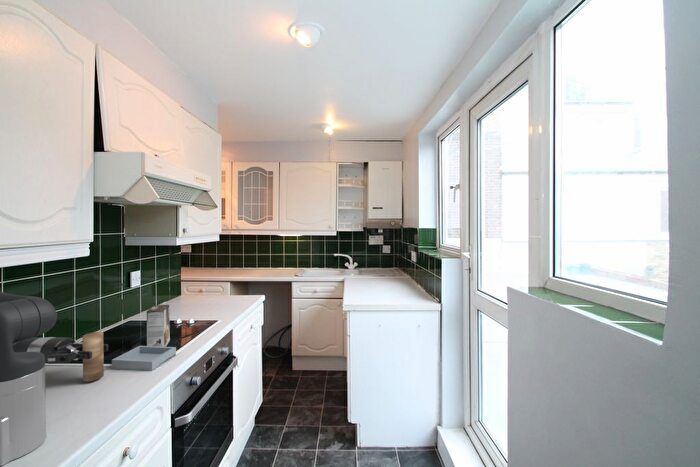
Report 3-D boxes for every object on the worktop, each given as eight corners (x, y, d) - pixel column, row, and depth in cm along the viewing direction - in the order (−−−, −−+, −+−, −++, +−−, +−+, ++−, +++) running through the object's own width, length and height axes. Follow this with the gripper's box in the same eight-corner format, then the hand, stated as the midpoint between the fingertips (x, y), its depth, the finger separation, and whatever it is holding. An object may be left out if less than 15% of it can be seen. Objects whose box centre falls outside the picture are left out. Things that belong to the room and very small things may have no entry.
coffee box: (152, 342, 123) (152, 305, 122) (170, 340, 125) (169, 303, 125) (146, 351, 114) (145, 311, 114) (164, 348, 116) (164, 309, 116)
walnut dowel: (93, 381, 90) (92, 337, 90) (78, 381, 90) (77, 337, 90) (107, 373, 95) (107, 331, 95) (94, 373, 95) (93, 331, 95)
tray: (152, 370, 98) (151, 361, 98) (111, 368, 100) (111, 359, 100) (176, 355, 110) (175, 347, 110) (139, 353, 112) (139, 345, 112)
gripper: (24, 347, 87) (76, 349, 85) (74, 330, 101) (119, 331, 99) (25, 371, 87) (76, 374, 85) (74, 351, 101) (119, 353, 100)
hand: (99, 351), depth 92 cm, fingers closed on walnut dowel, 5 cm apart
